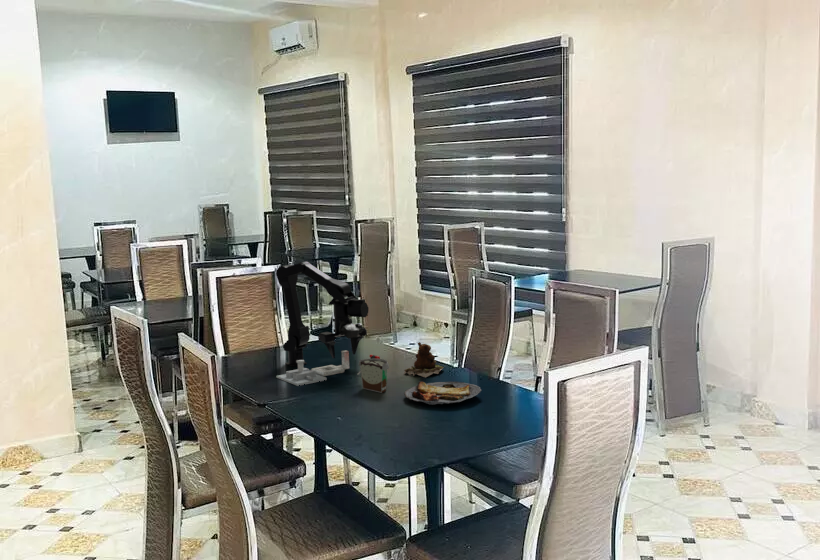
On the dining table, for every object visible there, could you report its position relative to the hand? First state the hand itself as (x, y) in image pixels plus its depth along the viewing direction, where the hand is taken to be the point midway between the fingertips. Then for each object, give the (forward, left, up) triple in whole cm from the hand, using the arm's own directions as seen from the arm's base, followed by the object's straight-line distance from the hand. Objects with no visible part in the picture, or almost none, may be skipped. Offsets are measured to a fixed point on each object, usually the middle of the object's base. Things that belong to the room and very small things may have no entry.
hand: (343, 356), depth 304 cm
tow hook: (+13, +5, -7) cm, 16 cm away
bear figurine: (+25, +19, -6) cm, 32 cm away
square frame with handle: (0, -7, -5) cm, 9 cm away
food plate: (+57, +2, -6) cm, 57 cm away
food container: (+33, -7, -5) cm, 34 cm away
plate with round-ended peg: (+2, -20, -5) cm, 21 cm away
